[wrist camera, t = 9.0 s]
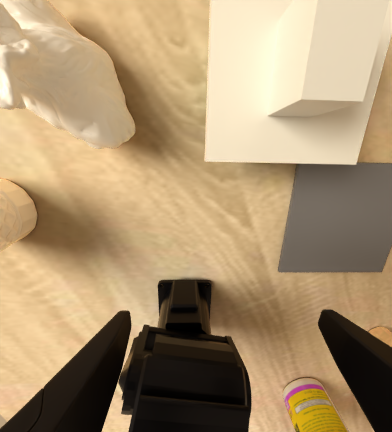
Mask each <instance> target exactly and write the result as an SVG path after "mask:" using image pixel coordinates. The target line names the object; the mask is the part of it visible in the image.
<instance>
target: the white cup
mask: <svg viewBox="0 0 392 432" xmlns="http://www.w3.org/2000/svg"><path fill="white" fill-rule="evenodd" d="M37 216H38V215H37V211H36V208H35V204H34V202H33V200H32V199H31V198H30V197H29V195H28V194H27V193H26V192H25V190H24V189H22V188H21V187H19V186H18V185H16V184H14V183H13V182H11V181H9V180H6V179H0V252H1V251H3V250H4V249H6V248H7V247H9V246H10V245H11V244H13V243H15V242H17V241H19V240H20V239H22V238H24V237H26V236H27V235H28V234H29V233H30V232H31V231H32V230H33V229H34V228H35V225H36V221H37Z"/></svg>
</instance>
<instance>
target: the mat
mask: <svg viewBox="0 0 392 432" xmlns="http://www.w3.org/2000/svg"><path fill="white" fill-rule="evenodd" d="M391 246H392V163H356V165H349V164H302V163H297V168H296V173H295V179H294V184H293V190H292V195H291V201H290V206H289V212H288V217H287V223H286V228H285V234H284V240H283V245H282V251H281V256H280V262H279V267H278V271H279V272H382V270H383V267H384V265H385V262H386V259H387V257H388V254H389V252H390V249H391Z"/></svg>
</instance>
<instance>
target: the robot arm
mask: <svg viewBox="0 0 392 432" xmlns="http://www.w3.org/2000/svg"><path fill="white" fill-rule="evenodd" d="M161 284H163V286H162V285H161ZM206 284H209V285H206ZM158 299H159V321H158V327H150V325H144V327H143V330H142V332H140V333H139V336H138V337H136V338H134V340H133V344H132V347H131V350H130V354H129V356H128V359H127V361H126V363H125V365H124V368H123V370H122V366H123V362H124V358H125V353H126V349H127V344H128V340H129V336H130V331H131V317H130V312H129V311H119V312H118V313H117V314H116V315H115V316H114V317H113V318H112V319H111V320H110V321H109V322H108V323H107V324H106V325H105V326H104V327H103V328H102V329H101V330H100V331H99V332H98V333H97V334H96V335H95V336H94V337H93V338H92V339H91V340H90V341H89V342H88V343H87V344H86V345H85V346H84V347H83V348H82V349H81V350H80V351H79V352H78V353H77V354H76V355H75V356H74V357H73V358H72V359H71V360H70V361H69V362H68V363H67V364H66V365H65V366H64V367H63V368H62V369H61V370H60V371H59V372H58V373H57V374H56V375H55V376H54V377H53V378H52V379H51V380H50V381H49V382H48V383H47V384H46V385H45V386H44V389H43V388H42V389H41V390H40V391H39V392H38V393H37V394H36V395H35V396H34V397H33V398H32V399H31V400H30V401H29V402H28V403H27V404H26V405H25V406H24V407H23V408H22V409H21V410H19V411H18V412H17V413H16V414H15V415H14V416H13V417H12V418H11V419H10V420H9V421H8V422H7V423H6V424H5V425H4V426H2V427H1V428H0V432H101V431H102V428H103V425H104V422H105V419H106V416H107V413H108V410H109V407H110V404H111V401H112V398H113V395H114V392H115V389H116V386H117V382H118V379H119V385H120V387H121V389H122V392H123V395H122V400H124V402H123V407H122V413H121V414H124V415H132V418H131V423H130V427H129V432H248V428H249V418H250V413H251V387H250V381H249V376H248V372H247V370H246V367H245V365H244V363H243V361H242V359H241V357H240V355H239V353H238V351H237V349H236V347H235V344H234V342H233V340H232V338H231V337H230V336H225V337H222V336H215V335H211V328H210V304H211V282H210V281H209V280H161V281H159V283H158ZM318 326H319V329H320V331H321V333H322V335H323V337H324V340H325V342H326V344H327V346H328V348H329V350H330V352H331V354H332V357H333V359H334V361H335V363H336V365H337V366H338V368H339V370H340V372H341V374H342V375H343V377H344V379H345V381H346V382H347V384H348V386H349V387H350V389H351V391H352V393H353V394H354V396H355V398H356V400H357V401H358V403H359V405H360V407H361V408H362V410H363V412H364V414H365V415H366V417H367V419H368V421H369V422H370V424H371V426H372V428H373V429H374V431H375V432H392V347H391V346H389V345H387V344H386V343H384V342H383V341H381V340H380V339H378V338H376V337H375V336H373V335H372V334H370V333H368V332H367V331H365V330H364V329H362V328H361V327H359V326H357V325H356V324H354V323H353V322H351V321H350V320H348V319H346V318H345V317H343V316H342V315H340V314H338V313H337V312H335V311H334V310H322V312H321V315H320V318H319V321H318ZM121 370H122V372H121ZM120 373H121V375H120ZM119 376H120V378H119Z"/></svg>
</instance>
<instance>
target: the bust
mask: <svg viewBox="0 0 392 432" xmlns="http://www.w3.org/2000/svg"><path fill="white" fill-rule="evenodd" d="M0 108H4V109H9V110H11V109H15V108H19V109H25V108H28V109H29V110H31V111H32V112H34V113H35V114H36V115H38V116H40V117H41V118H43V119H44V120H46V121H48V122H49V123H50V124H51V125H52V126H54V127H56V128H58V129H61V130H64V131H66V132H68V133H71V134H72V135H73V136H74V137H75V138H77V139H81V140H84V141H86V143H87V144H88V145H89V146H90V147H93V148H96V149H102V148H118V147H119V146H120V145H121V144H122V143H124V142H127V141H128V140H129V139H130V138H131V137H132V136H133V135H134V134H135V123H134V120H133V118H132V116H131V114H130V113H129V111H128V109H127V107H126V101H125V96H124V93H123V91H122V88H121V86H120V83H119V81H118V78H117V75H116V71H115V68H114V65H113V61H112V59H111V58H110V56H109V55H108V53H107V52H106V51H105V50H104V49H102V48H101V47H100V46H99V45H97V44H96V43H94V42H93V41H91V40H89V39H88V38H86V37H83V36H82V35H80V34H79V33H78V32H77V31H76V30H75V29H74V28H73V27H72V25H71V24H70V23H69V22H68V21H67V19H66V18H65V17H64V16H63V15H62V14H61V13H60V12H59V11H58V10H57V9H56V8H55V7H54V6H53V5H52V4H51V3H50V2H49V1H48V0H0Z"/></svg>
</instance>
